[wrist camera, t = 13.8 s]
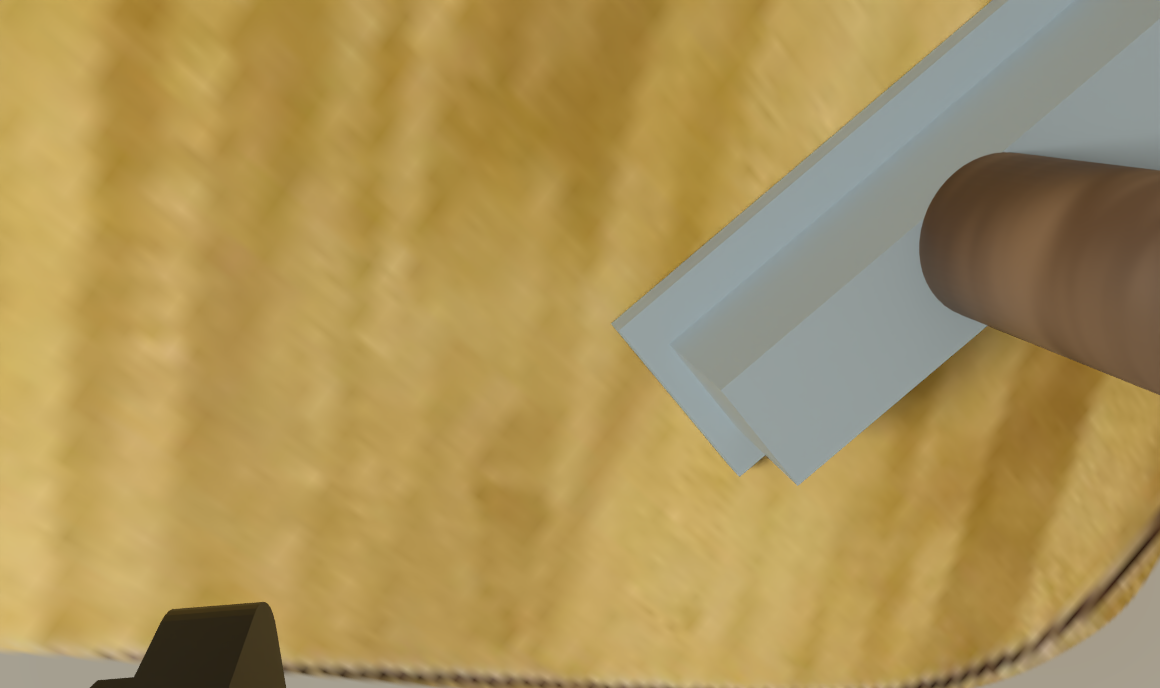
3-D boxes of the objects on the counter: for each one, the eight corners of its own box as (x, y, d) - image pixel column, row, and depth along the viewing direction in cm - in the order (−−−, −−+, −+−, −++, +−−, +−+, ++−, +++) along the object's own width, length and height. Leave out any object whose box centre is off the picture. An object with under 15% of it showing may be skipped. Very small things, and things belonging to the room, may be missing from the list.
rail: (1071, -68, 33) (1219, -96, 27) (1160, 101, 35) (1313, 107, 30) (610, 323, 33) (662, 375, 27) (729, 466, 35) (799, 541, 30)
